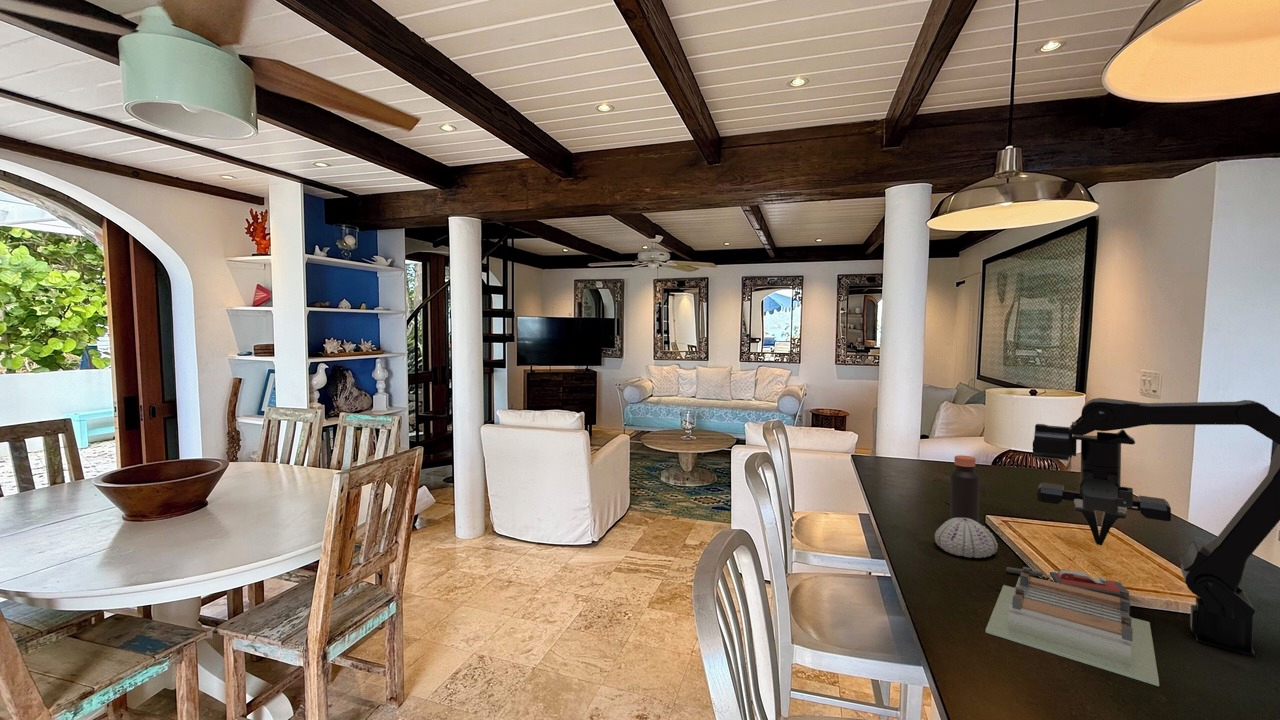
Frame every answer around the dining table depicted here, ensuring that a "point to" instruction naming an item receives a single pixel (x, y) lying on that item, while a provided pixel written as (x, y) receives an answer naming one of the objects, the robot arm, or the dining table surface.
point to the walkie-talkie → (1080, 581)
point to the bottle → (964, 489)
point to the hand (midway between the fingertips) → (1099, 544)
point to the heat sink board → (1076, 630)
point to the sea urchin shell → (965, 538)
